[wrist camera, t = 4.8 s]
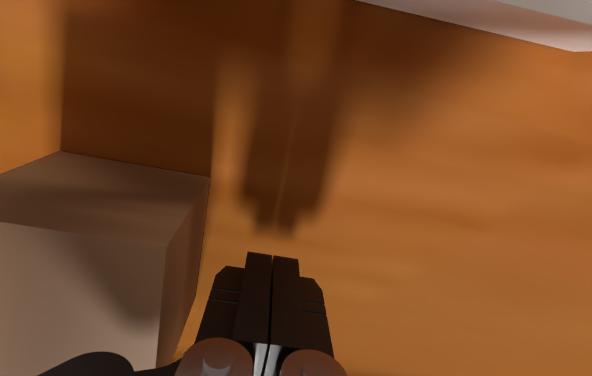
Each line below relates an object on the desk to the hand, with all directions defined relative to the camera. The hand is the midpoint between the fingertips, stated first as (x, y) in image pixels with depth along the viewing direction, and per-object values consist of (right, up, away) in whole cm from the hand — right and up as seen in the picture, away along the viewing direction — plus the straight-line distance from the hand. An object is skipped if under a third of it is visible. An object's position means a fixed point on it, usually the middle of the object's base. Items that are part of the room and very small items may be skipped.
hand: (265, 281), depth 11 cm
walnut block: (-4, +1, +1) cm, 5 cm away
